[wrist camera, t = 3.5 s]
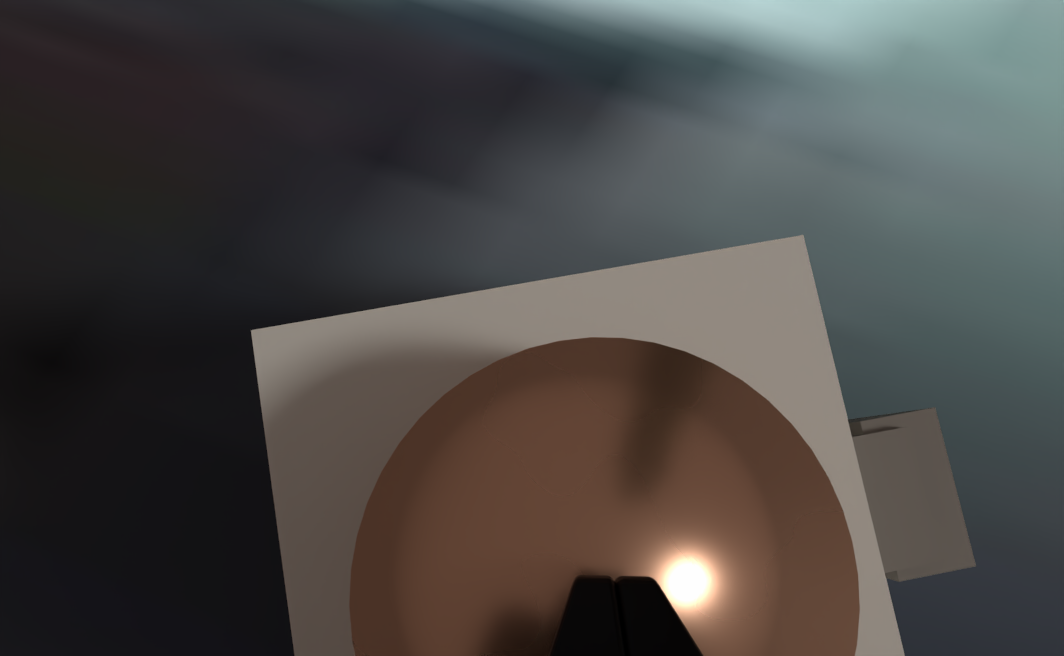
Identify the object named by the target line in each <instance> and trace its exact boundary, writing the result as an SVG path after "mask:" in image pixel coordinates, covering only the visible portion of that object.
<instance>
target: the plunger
mask: <svg viewBox="0 0 1064 656" xmlns="http://www.w3.org/2000/svg"><path fill="white" fill-rule="evenodd" d="M578 575H607V576H610V577H611V578H613V580H614V581H615V579H616V578H617V577H618V576H648V577H652V578H653V579H655V580H656V581H657V583H658V584H659V585H660V587H661V588H662V590H663V592H664V593H665V595H666V596H667V598H668V600H669V601H670V603H671V604H672V606H673V608H674V609H675V611H676V612H677V614H678V616H679V617H680V619H681V620H682V622H683V624H684V625H685V627H686V628H687V630H688V632H689V633H690V635H691V636H692V638H693V640H694V641H695V643H696V644H697V646H698V648H699V649H700V651H701V652H702V654H703V656H855V652H856V647H857V639H858V627H859V614H860V603H859V581H858V571H857V565H856V559H855V554H854V548H853V542H852V538H851V535H850V532H849V529H848V525H847V522H846V519H845V515H844V512H843V509H842V507H841V504H840V502H839V500H838V498H837V495H836V493H835V491H834V488H833V486H832V484H831V482H830V479H829V477H828V476H827V474H826V472H825V471H824V469H823V467H822V466H821V464H820V462H819V461H818V459H817V457H816V456H815V454H814V452H813V451H812V449H811V448H810V447H809V445H808V444H807V443H806V441H805V440H804V439H803V438H802V436H801V435H800V434H799V433H798V431H797V430H796V429H795V427H794V426H793V425H792V424H791V423H790V422H789V421H788V420H787V419H786V418H785V417H784V416H783V415H782V414H781V413H780V412H779V411H778V410H777V409H776V408H775V407H774V406H773V405H772V404H771V403H770V402H769V401H768V400H767V399H766V398H765V397H763V396H762V395H761V394H759V393H758V392H757V391H756V390H754V389H753V388H752V387H750V386H749V385H748V384H746V383H745V382H744V381H743V380H741V379H739V378H738V377H736V376H734V375H732V374H731V373H729V372H727V371H726V370H724V369H722V368H721V367H719V366H717V365H716V364H714V363H711V362H709V361H707V360H704V359H702V358H700V357H697V356H695V355H693V354H690V353H688V352H686V351H682V350H679V349H675V348H672V347H668V346H665V345H661V344H658V343H654V342H648V341H641V340H634V339H628V338H607V337H588V338H579V339H570V340H561V341H556V342H552V343H548V344H544V345H540V346H536V347H532V348H528V349H525V350H523V351H520V352H518V353H515V354H513V355H510V356H507V357H505V358H502V359H500V360H498V361H496V362H494V363H492V364H490V365H488V366H487V367H485V368H483V369H481V370H479V371H478V372H476V373H474V374H472V375H470V376H469V377H468V378H466V379H465V380H463V381H462V382H461V383H459V384H458V385H457V386H455V387H454V388H452V389H451V390H450V391H448V392H447V393H446V394H444V395H443V396H442V397H441V398H440V399H439V400H438V401H437V402H436V403H435V404H434V405H433V406H432V407H430V408H429V409H428V410H427V411H426V412H425V413H424V414H423V415H422V416H421V417H420V418H419V419H418V421H417V422H416V423H415V424H414V425H413V427H412V428H411V429H410V430H409V432H408V433H407V434H406V435H405V437H404V438H403V439H402V440H401V441H400V443H399V444H398V446H397V447H396V449H395V451H394V452H393V454H392V455H391V457H390V459H389V460H388V462H387V463H386V465H385V467H384V468H383V470H382V472H381V474H380V476H379V478H378V480H377V482H376V485H375V487H374V489H373V491H372V493H371V496H370V498H369V500H368V502H367V505H366V508H365V511H364V515H363V518H362V521H361V524H360V528H359V531H358V534H357V538H356V544H355V550H354V555H353V561H352V567H351V579H350V600H349V608H350V621H351V633H352V642H353V647H354V652H355V656H548V655H549V652H550V649H551V646H552V643H553V640H554V637H555V634H556V631H557V628H558V625H559V622H560V619H561V616H562V613H563V610H564V607H565V604H566V601H567V598H568V595H569V592H570V589H571V586H572V584H573V581H574V579H575V578H576V577H577V576H578Z"/></svg>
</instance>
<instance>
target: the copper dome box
mask: <svg viewBox="0 0 1064 656" xmlns="http://www.w3.org/2000/svg"><path fill="white" fill-rule="evenodd" d="M251 335H252V342H253V350H254V357H255V364H256V372H257V379H258V387H259V394H260V402H261V409H262V417H263V424H264V432H265V439H266V446H267V454H268V461H269V469H270V476H271V484H272V491H273V499H274V506H275V514H276V521H277V528H278V536H279V543H280V551H281V558H282V566H283V573H284V581H285V588H286V596H287V603H288V610H289V618H290V625H291V633H292V640H293V648H294V655H295V656H355V652H354V647H353V642H352V633H351V621H350V608H349V600H350V579H351V567H352V561H353V555H354V550H355V544H356V538H357V534H358V531H359V528H360V524H361V521H362V518H363V515H364V511H365V508H366V505H367V502H368V500H369V498H370V496H371V493H372V491H373V489H374V487H375V485H376V482H377V480H378V478H379V476H380V474H381V472H382V470H383V468H384V467H385V465H386V463H387V462H388V460H389V459H390V457H391V455H392V454H393V452H394V451H395V449H396V447H397V446H398V444H399V443H400V441H401V440H402V439H403V438H404V437H405V435H406V434H407V433H408V432H409V430H410V429H411V428H412V427H413V425H414V424H415V423H416V422H417V421H418V419H419V418H420V417H421V416H422V415H423V414H424V413H425V412H426V411H427V410H428V409H429V408H430V407H432V406H433V405H434V404H435V403H436V402H437V401H438V400H439V399H440V398H441V397H442V396H443V395H444V394H446V393H447V392H448V391H450V390H451V389H452V388H454V387H455V386H457V385H458V384H459V383H461V382H462V381H463V380H465V379H466V378H468V377H469V376H470V375H472V374H474V373H476V372H478V371H479V370H481V369H483V368H485V367H487V366H488V365H490V364H492V363H494V362H496V361H498V360H500V359H502V358H505V357H507V356H510V355H513V354H515V353H518V352H520V351H523V350H525V349H528V348H532V347H536V346H540V345H544V344H548V343H552V342H556V341H561V340H570V339H579V338H588V337H607V338H628V339H634V340H641V341H648V342H654V343H658V344H661V345H665V346H668V347H672V348H675V349H679V350H682V351H686V352H688V353H690V354H693V355H695V356H697V357H700V358H702V359H704V360H707V361H709V362H711V363H714V364H716V365H717V366H719V367H721V368H722V369H724V370H726V371H727V372H729V373H731V374H732V375H734V376H736V377H738V378H739V379H741V380H743V381H744V382H745V383H746V384H748V385H749V386H750V387H752V388H753V389H754V390H756V391H757V392H758V393H759V394H761V395H762V396H763V397H765V398H766V399H767V400H768V401H769V402H770V403H771V404H772V405H773V406H774V407H775V408H776V409H777V410H778V411H779V412H780V413H781V414H782V415H783V416H784V417H785V418H786V419H787V420H788V421H789V422H790V423H791V424H792V425H793V426H794V427H795V429H796V430H797V431H798V433H799V434H800V435H801V436H802V438H803V439H804V440H805V441H806V443H807V444H808V445H809V447H810V448H811V449H812V451H813V452H814V454H815V456H816V457H817V459H818V461H819V462H820V464H821V466H822V467H823V469H824V471H825V472H826V474H827V476H828V477H829V479H830V482H831V484H832V486H833V488H834V491H835V493H836V495H837V498H838V500H839V502H840V504H841V507H842V509H843V512H844V515H845V519H846V522H847V525H848V529H849V532H850V535H851V538H852V542H853V548H854V554H855V559H856V565H857V571H858V581H859V603H860V614H859V627H858V639H857V647H856V652H855V656H905V655H904V651H903V647H902V643H901V638H900V634H899V630H898V626H897V622H896V618H895V614H894V609H893V605H892V601H891V597H890V593H889V589H888V584H887V580H886V578H888V579H892V580H895V581H899V582H900V581H905V580H910V579H915V578H920V577H925V576H929V575H934V574H939V573H944V572H949V571H954V570H959V569H964V568H969V567H974V566H976V564H975V560H974V557H973V553H972V549H971V545H970V541H969V537H968V533H967V529H966V525H965V522H964V518H963V514H962V510H961V506H960V502H959V498H958V494H957V491H956V487H955V483H954V479H953V475H952V471H951V467H950V463H949V459H948V456H947V452H946V448H945V444H944V440H943V436H942V432H941V428H940V425H939V421H938V417H937V413H936V409H935V408H928V409H920V410H913V411H906V412H899V413H891V414H884V415H877V416H870V417H862V418H855V419H847V414H846V410H845V406H844V402H843V398H842V394H841V389H840V385H839V381H838V377H837V373H836V369H835V365H834V360H833V356H832V352H831V348H830V344H829V340H828V336H827V331H826V327H825V323H824V319H823V315H822V311H821V307H820V302H819V298H818V294H817V290H816V286H815V282H814V277H813V273H812V269H811V265H810V261H809V257H808V253H807V248H806V244H805V240H804V236H803V235H801V236H795V237H789V238H783V239H777V240H772V241H766V242H760V243H754V244H748V245H743V246H737V247H731V248H725V249H719V250H714V251H708V252H702V253H696V254H690V255H685V256H679V257H673V258H667V259H661V260H656V261H650V262H644V263H638V264H632V265H627V266H621V267H615V268H609V269H603V270H598V271H592V272H586V273H580V274H574V275H569V276H563V277H557V278H551V279H545V280H540V281H534V282H528V283H522V284H516V285H511V286H505V287H499V288H493V289H487V290H481V291H476V292H470V293H464V294H458V295H452V296H447V297H441V298H435V299H429V300H423V301H418V302H412V303H406V304H400V305H394V306H389V307H383V308H377V309H371V310H365V311H360V312H354V313H348V314H342V315H336V316H331V317H325V318H319V319H313V320H307V321H302V322H296V323H290V324H284V325H278V326H273V327H267V328H261V329H255V330H251Z"/></svg>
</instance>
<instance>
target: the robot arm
mask: <svg viewBox="0 0 1064 656" xmlns="http://www.w3.org/2000/svg"><path fill="white" fill-rule="evenodd" d="M548 656H703V654H702V652H701V651H700V649H699V648H698V646H697V644H696V643H695V641H694V640H693V638H692V636H691V635H690V633H689V632H688V630H687V628H686V627H685V625H684V624H683V622H682V620H681V619H680V617H679V616H678V614H677V612H676V611H675V609H674V608H673V606H672V604H671V603H670V601H669V600H668V598H667V596H666V595H665V593H664V592H663V590H662V588H661V587H660V585H659V584H658V583H657V581H656V580H655V579H653V578H652V577H648V576H618V577H617V578H616V579H615V581H614V580H613V578H611V577H610V576H607V575H578V576H577V577H576V578H575V579H574V581H573V584H572V586H571V589H570V592H569V595H568V598H567V601H566V604H565V607H564V610H563V613H562V616H561V619H560V622H559V625H558V628H557V631H556V634H555V637H554V640H553V643H552V646H551V649H550V652H549V655H548Z"/></svg>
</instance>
